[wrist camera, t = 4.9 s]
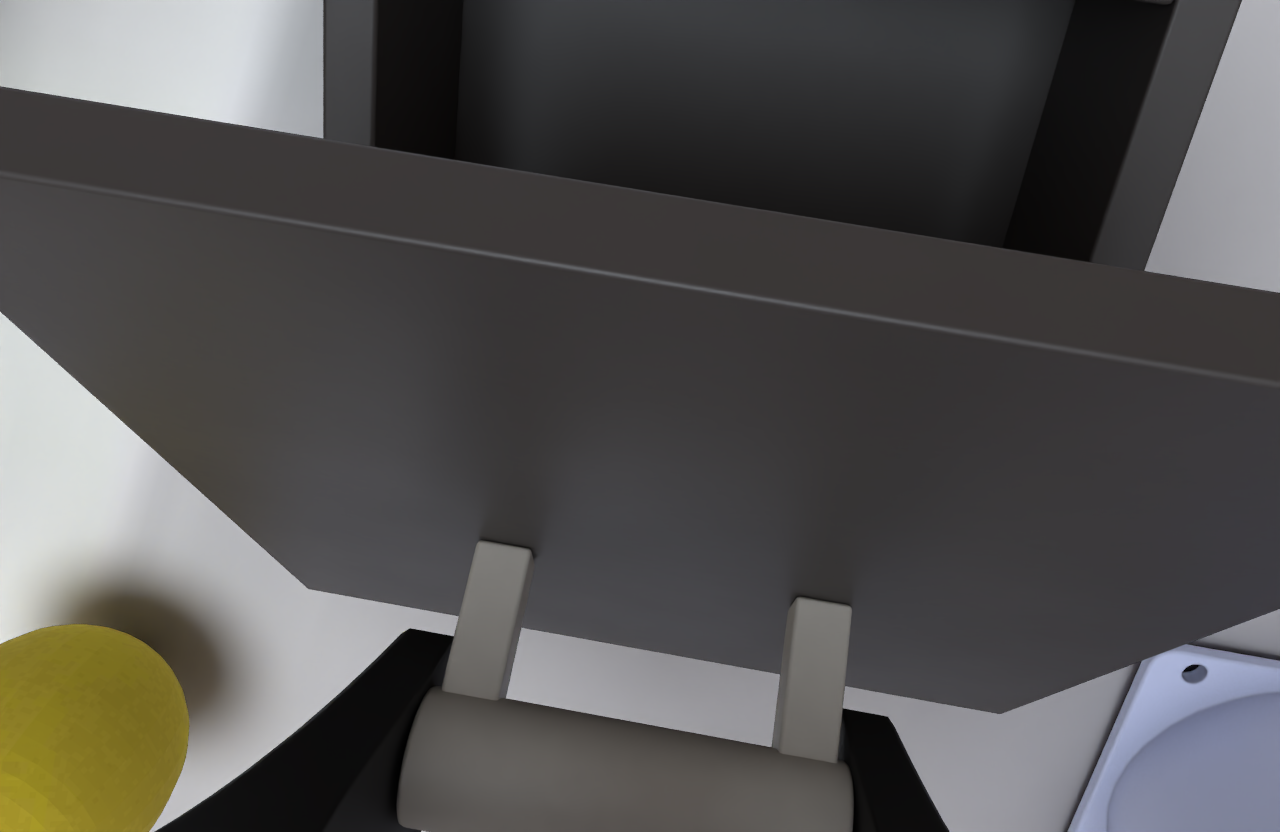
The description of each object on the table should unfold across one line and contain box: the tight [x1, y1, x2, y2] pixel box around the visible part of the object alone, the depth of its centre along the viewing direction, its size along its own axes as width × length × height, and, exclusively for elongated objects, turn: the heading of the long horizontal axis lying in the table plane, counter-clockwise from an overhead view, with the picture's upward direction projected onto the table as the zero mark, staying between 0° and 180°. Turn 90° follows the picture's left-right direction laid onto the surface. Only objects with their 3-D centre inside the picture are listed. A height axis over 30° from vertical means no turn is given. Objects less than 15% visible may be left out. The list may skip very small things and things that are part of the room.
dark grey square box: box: [323, 0, 1242, 271], centre depth 18 cm, size 12×12×5 cm
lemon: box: [0, 624, 189, 832], centre depth 24 cm, size 6×6×8 cm
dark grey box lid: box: [0, 87, 1280, 832], centre depth 12 cm, size 12×12×4 cm
